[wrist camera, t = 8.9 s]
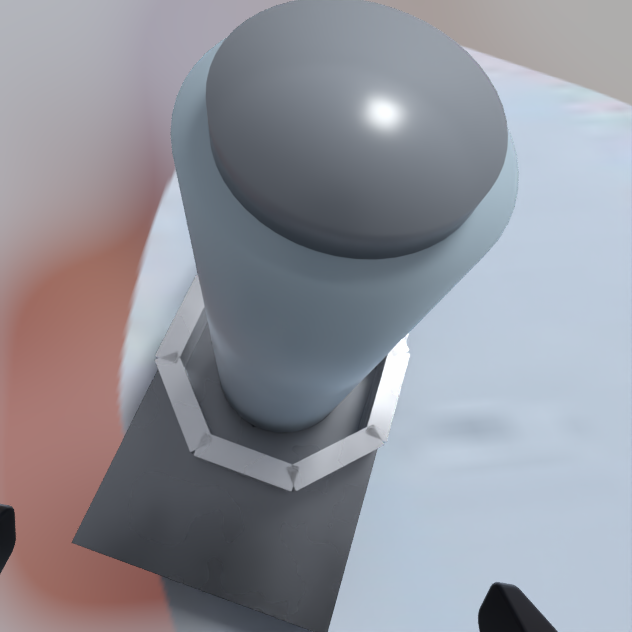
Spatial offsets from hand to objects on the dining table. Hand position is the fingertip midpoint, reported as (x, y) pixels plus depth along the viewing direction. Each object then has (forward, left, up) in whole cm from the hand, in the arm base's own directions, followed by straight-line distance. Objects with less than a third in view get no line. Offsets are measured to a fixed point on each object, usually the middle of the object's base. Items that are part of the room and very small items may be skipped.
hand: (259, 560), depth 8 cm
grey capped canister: (+6, +1, -8) cm, 10 cm away
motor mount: (+6, +1, -9) cm, 11 cm away
